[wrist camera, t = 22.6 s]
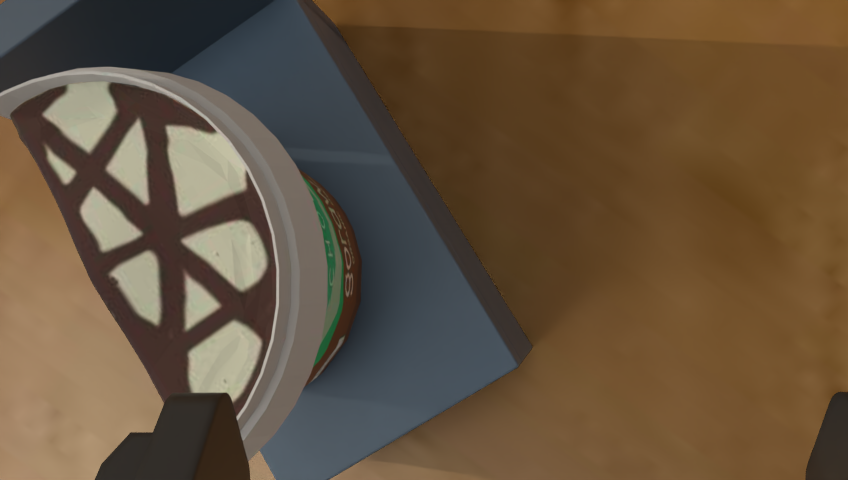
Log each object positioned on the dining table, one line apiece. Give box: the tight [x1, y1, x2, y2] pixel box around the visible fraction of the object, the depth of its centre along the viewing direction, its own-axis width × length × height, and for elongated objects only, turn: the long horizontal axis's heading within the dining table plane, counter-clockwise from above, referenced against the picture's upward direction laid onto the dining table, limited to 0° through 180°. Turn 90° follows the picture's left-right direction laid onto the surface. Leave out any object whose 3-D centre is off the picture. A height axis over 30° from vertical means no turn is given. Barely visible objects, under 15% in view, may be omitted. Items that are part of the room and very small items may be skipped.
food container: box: [0, 67, 362, 461], centre depth 25 cm, size 12×6×10 cm, turn 32°
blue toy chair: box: [0, 0, 532, 480], centre depth 31 cm, size 18×10×15 cm, turn 32°
